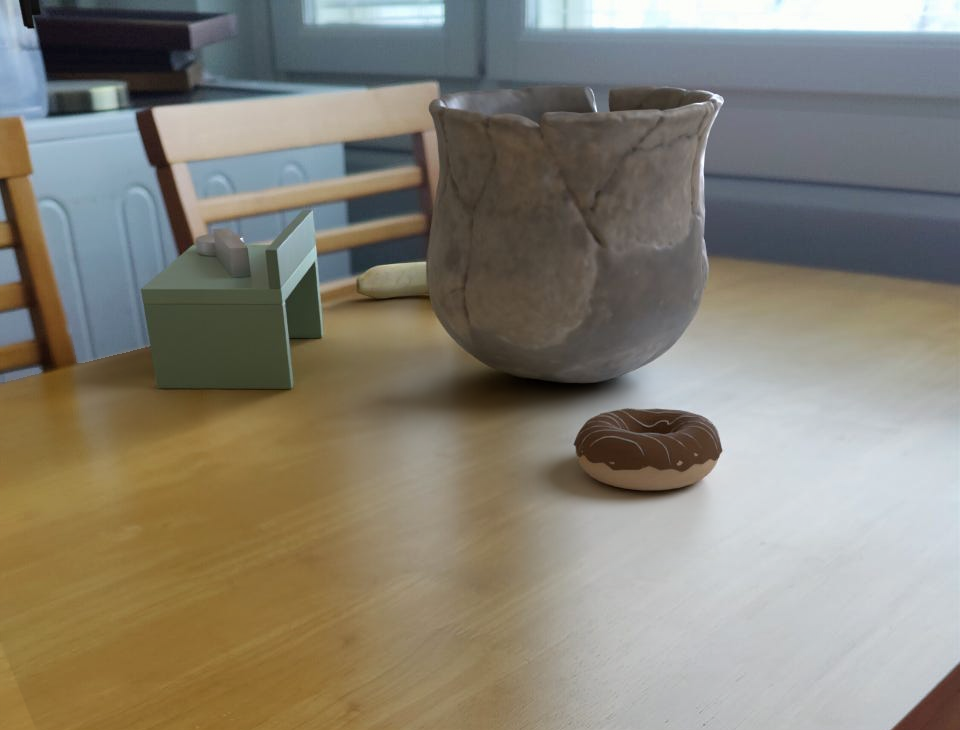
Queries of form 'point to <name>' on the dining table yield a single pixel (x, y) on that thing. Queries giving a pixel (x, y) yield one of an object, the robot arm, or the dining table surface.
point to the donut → (648, 448)
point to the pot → (569, 226)
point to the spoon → (226, 251)
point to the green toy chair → (235, 314)
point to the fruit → (393, 280)
